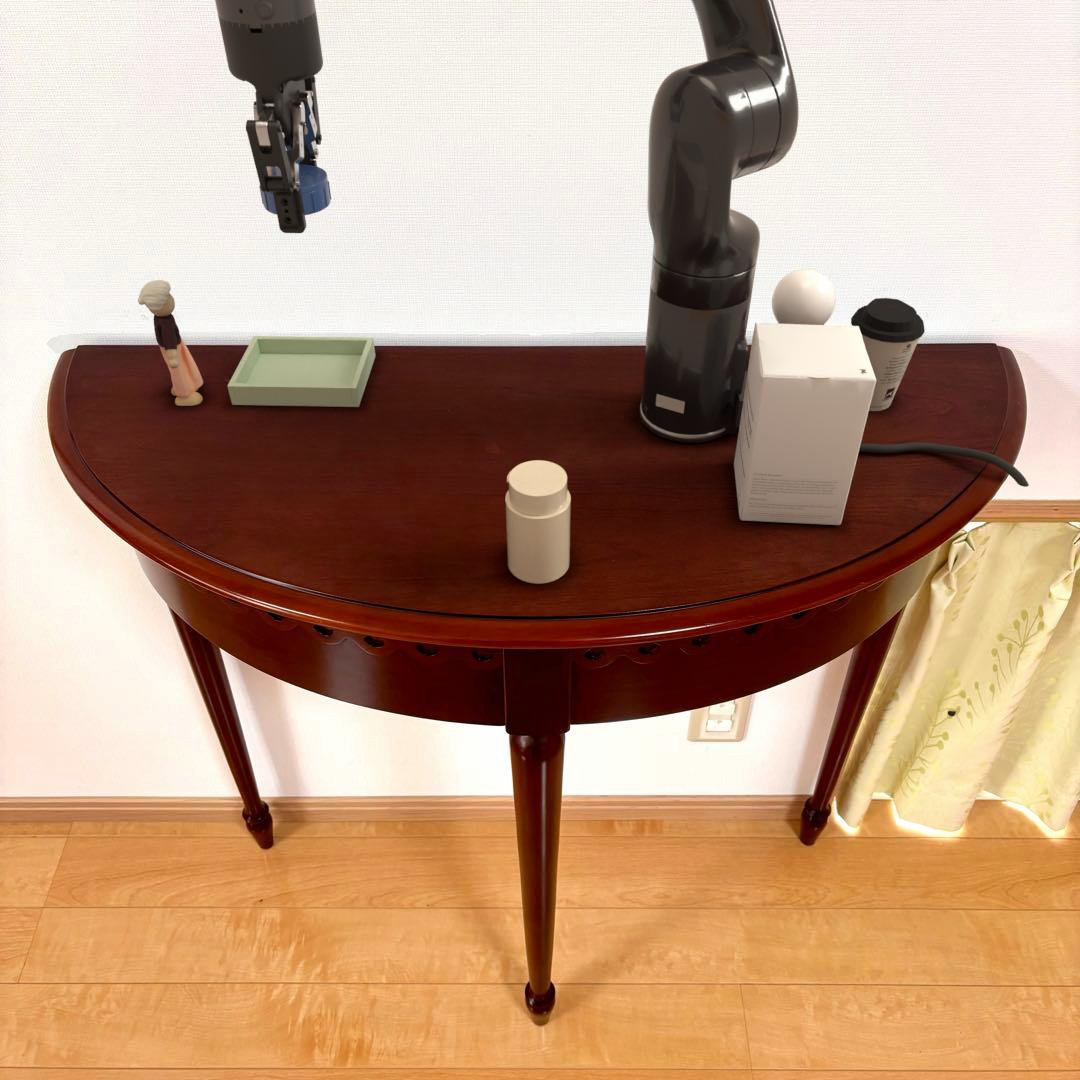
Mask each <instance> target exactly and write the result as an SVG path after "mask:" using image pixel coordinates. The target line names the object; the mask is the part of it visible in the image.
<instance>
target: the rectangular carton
mask: <svg viewBox="0 0 1080 1080" xmlns="http://www.w3.org/2000/svg"><path fill="white" fill-rule="evenodd" d="M750 347H751V348H750V353H749V359H748V365H747V366H748V367H747V371H748V373H747V380H746V386H745V393H744V400H743V407H742V414H741V420H740V427H738V434H737V441H736V447H735V453H734V458H733V459H734V461H733V470H734V478H735V480H734V481H735V489H736V499H737V508H738V516H739V520H740V521H742V522H743V521H745V522H764V523H765V522H766V523H768V522H769V523H784V524H785V523H787V524H805V525H806V524H809V525H826V526H827V525H828V526H830V525H831V526H840V525H842V522H843V519H844V513H845V509H846V505H847V502H848V497H849V494H850V489H851V485H852V481H853V477H854V474H855V473H854V472H855V469H856V466H857V465H856V464H857V461H858V457H859V453H860V451H859V448H860V444H861V443H862V441H863V436H864V432H865V427H866V424H867V419H868V417H869V412H870V411H869V408H870V404H871V400H872V396H873V392H874V388H875V384H876V377H875V375H874V372H873V369H872V366H871V363H870V360H869V357H868V354H867V351H866V348H865V345H864V341H863V338H862V334H861V332H860V329H859V326H852V325H835V324H834V325H833V324H824V325H806V324H778V322H777V323H776V322H775V323H773V322H758V321H757V322H754V329H753V334H752V340H751V346H750Z"/></svg>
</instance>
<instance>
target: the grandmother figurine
mask: <svg viewBox="0 0 1080 1080" xmlns="http://www.w3.org/2000/svg"><path fill="white" fill-rule="evenodd" d="M171 290H172V288H171V284H170V282H169V281H166V280H164V279H163V280H162V279H155V280H150V281H148V282H146V283H145V284H144V285H143V287H142V288H141V290H140V292H139V293H140V294H139V295H138V298H137V303H138V305H141V306H143V305H144V306H145V308H147V309H148V310H149V312H150V313H151V314H153V327H154V336H155V339H156V344H157V345H158V346H159V349H160V353H161V355H162V357H163V360H164V361H165V364H166V365H167V368H168V370H169V373H170V379H171V383H172V387H171V390H170V392H171V394H172V395H173V396H176V397H175V399H174V403H175V405H176V406H178V407H179V406H180V407H194V406H198V405H200V404H201V403H202V402H203V396H202V395H201V393H199V392H197V391H198V390H199V388H201V387H202V386H203V384H204V379H203V377H202V375H201V373H200V369H199V368H198V365H197V363H196V362H195V360H194V359H195V358H194V357H193V356H192V354H191V352H190V350H189V348H188V346H187V344H186V343H185V342H184V340H183V339H182V336H181V334H180V329H179V326H178V325H177V323H176V319H175V317H174V314H172V313H173V312H174V310H175V308H176V302H175V298H174V296H173V295H172V294H171V293H170V292H171Z"/></svg>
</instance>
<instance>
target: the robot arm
mask: <svg viewBox="0 0 1080 1080" xmlns="http://www.w3.org/2000/svg"><path fill="white" fill-rule="evenodd" d="M214 1H215V7H216V12H217V17H218V22H219V27H220V32H221V36H222V37H221V38H222V42H223V47H224V52H225V57H226V62H227V67H228V70H229V72H230V74H231V75H232V76H233V77H234V78H236V79H237V80H239V81H242V82H247V83H249V84H250V85H251V86H253V88H254V90H255V93H254V95H255V100H254V101H253V106H252V107H253V119H247V120H246V123H245V131H246V135H247V138H248V142H249V146H250V151H251V154H252V158H253V163H254V166H255V170H256V174H257V177H258V178H257V179H258V182H259V186H260V187H261V190H262V191H263V192H273V195H274V201H275V206H276V211H277V215H276V216H277V221H278V227H279V230H280V231H281V232H282V233H284V234H303V233H304V232H305V230H306V229H307V220H306V215H305V213H304V208H303V202H302V196H301V190H300V180H299V164H305V165H312V166H316V167H318V163H317V160H318V159H319V153H320V151H319V147H318V146H320V145H321V144H322V140H323V137H322V133H321V124H320V115H319V105H318V97H317V86H316V75H318V74H319V73H320V72H321V71H322V69H323V66H324V58H323V51H322V43H321V37H320V29H319V22H318V16H317V9H316V2H315V0H214ZM690 3H691V4H692V6H693V9H694V12H695V15H696V19H697V22H698V25H699V26H698V27H699V29H700V32H701V37H702V41H703V42H702V43H703V47H704V52H705V57H706V61H702V62H698V63H694V64H691V65H687V66H684V67H681V68H678V69H677V70H676V69H675V70H674V71H672V72H670V74H668V75H667V76H666V77H665V78H664V79H663V81H662V82H661V84H660V85H659V87H658V88H657V91H656V94H655V95H654V100H653V102H652V106H651V111H650V117H649V126H648V143H647V144H648V146H647V147H648V148H647V149H648V151H647V152H648V153H647V155H648V156H647V200H646V201H647V204H646V205H647V218H648V223H649V226H650V230H651V234H652V240H653V245H652V255H651V256H652V257H651V259H652V260H651V270H650V284H649V297H648V312H647V324H646V337H645V350H644V365H643V377H642V389H641V390H642V392H641V397H640V398H641V399H640V405H639V417H640V421H641V423H642V425H643V426H644V427H645V428H646V429H647V430H648V431H650V432H651V433H652V434H654V435H656V436H658V437H661V438H663V439H666V440H669V441H672V442H677V443H687V444H688V443H689V444H697V443H706V442H710V441H712V440H713V441H714V440H716V439H719V438H721V437H723V436H724V435H725V436H726V435H735V434H736V433H737V428H739V427H740V420H741V414H742V407H743V400H744V393H745V386H746V380H747V373H748V370H747V369H746V368H747V364H748V358H749V357H748V356H749V344H748V341H747V337H746V335H747V328H748V324H749V323H748V322H749V316H750V315H749V314H750V308H751V302H752V295H753V289H754V282H755V275H756V269H757V261H758V257H759V252H760V251H759V250H760V243H761V231H760V229H759V228H760V227H759V226H758V224H757V223H756V222H755V220H753V219H752V218H751V217H749V216H748V215H746V214H744V213H742V212H740V211H738V210H735V209H732V208H731V195H732V183H733V181H735V180H737V179H740V178H743V177H746V176H749V175H751V174H752V175H753V174H754V173H758V172H760V171H764V170H767V169H768V168H771V167H773V166H775V165H776V164H779V162H781V161H782V160H783V159H784V158H785V157H786V156H787V155H788V153H789V152H790V150H791V149H792V146H793V144H794V142H795V139H796V136H797V133H798V132H797V131H798V127H799V126H798V125H799V113H800V111H799V99H798V98H799V96H798V91H797V84H796V80H795V75H794V72H793V71H794V70H793V67H792V63H791V60H790V58H789V53H788V49H787V46H786V42H785V39H784V35H783V34H784V33H783V31H782V27H781V23H780V19H779V17H778V13H777V10H776V6H775V2H774V0H690ZM276 167H278V168H279V169H280V171H281V175H282V176H276ZM260 187H259V188H260ZM915 451H917V452H918V451H921V452H922V451H923V452H930V453H931V452H932V453H938V454H944V455H945V454H946V455H954V456H959V457H967V458H971V459H976V460H980V461H983V462H986V463H989V464H992V465H994V466H996V467H997V468H999V469H1001V470H1003V471H1004V472H1005V473H1007V474H1008V475H1009V476H1010V477H1011V478H1012V479H1013V480H1014V481H1015V482H1016V483H1017V485H1019V486H1021V487H1024V488H1026V487H1029V486H1030V484H1029V482H1028V481H1027V479H1026V477H1025V476H1024V475H1023V474H1022V473H1021V472H1020V471H1019V469H1017V468H1016V467H1015V466H1014V465H1013V464H1011V463H1010V462H1008V461H1007V460H1006V459H1003V458H1002V457H1000V456H997V455H995V454H992V453H989V452H986V451H983V450H978V449H974V448H969V447H961V446H954V445H947V444H941V443H934V442H933V443H932V442H924V441H923V442H922V441H921V442H920V441H914V442H913V441H912V442H902V443H892V444H890V443H889V444H878V443H865V442H863V443H862V442H861V444H860V448H859V452H862V453H863V452H864V453H877V454H879V453H880V454H894V453H895V454H896V453H905V452H915ZM956 713H957V710H948V711H947V715H948V716H949V717H955V716H956Z"/></svg>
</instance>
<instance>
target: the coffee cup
mask: <svg viewBox="0 0 1080 1080" xmlns="http://www.w3.org/2000/svg"><path fill="white" fill-rule="evenodd" d="M924 323H925V322H924V320H923V319H922V317H921V316H920V314H918V313H917V310H916V309H915V307H913V306H911V305H909V304H908V303H906V302H904V301H903V300H900V299H898V298H890V297H878V298H877V297H875V298H874V299H872V300H871V301H870V302H869V303H867V305H863V306H861V307H859V308H858V309H857V310H856V311H855V312H854V314H853V315H852V316H851V318H850V325H851V326H859V329H860V332H861V334H862V338H863V341H864V345H865V348H866V351H867V354H868V357H869V360H870V363H871V366H872V369H873V372H874V375H875V377H876V384H875V388H874V392H873V396H872V400H871V404H870V408H869V412H881V411H884V410H886V409H889V407H890V406H891V405H892V403H893V400H894V398H895V396H896V393H897V391H898V389H899V386H900V384H901V382H902V379H903V378H904V375H905V373H906V370H907V368H908V366H909V363H910V361H911V359H912V356H913V355H914V352H915V349H916V348H917V345H918V342H919V341H920V338H921V337H923V335H924V334H925V332H926V331H925V324H924Z"/></svg>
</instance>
